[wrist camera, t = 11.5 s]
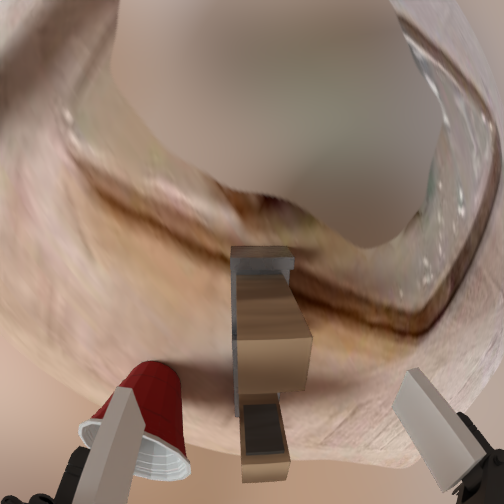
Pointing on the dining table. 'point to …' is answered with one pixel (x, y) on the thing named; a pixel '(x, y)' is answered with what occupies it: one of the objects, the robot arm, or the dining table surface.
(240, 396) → the block
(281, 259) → the rail
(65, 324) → the dining table surface
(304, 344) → the tan wooden block
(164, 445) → the plastic cup
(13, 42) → the dining table surface
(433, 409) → the robot arm
